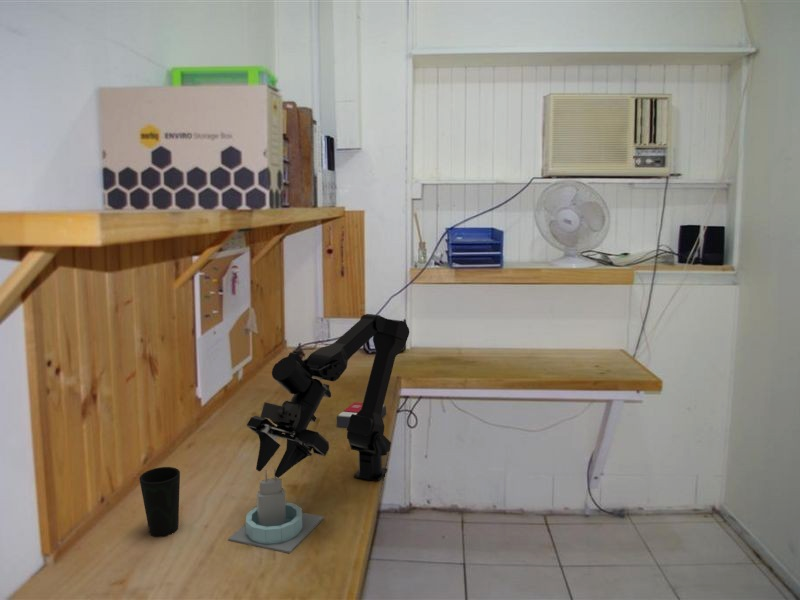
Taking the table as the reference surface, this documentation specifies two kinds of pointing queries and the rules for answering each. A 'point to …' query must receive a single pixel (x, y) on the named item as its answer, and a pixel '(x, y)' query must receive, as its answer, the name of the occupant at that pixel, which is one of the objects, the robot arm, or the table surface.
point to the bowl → (275, 527)
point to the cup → (161, 500)
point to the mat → (307, 526)
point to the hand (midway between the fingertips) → (267, 473)
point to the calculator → (345, 416)
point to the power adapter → (271, 502)
